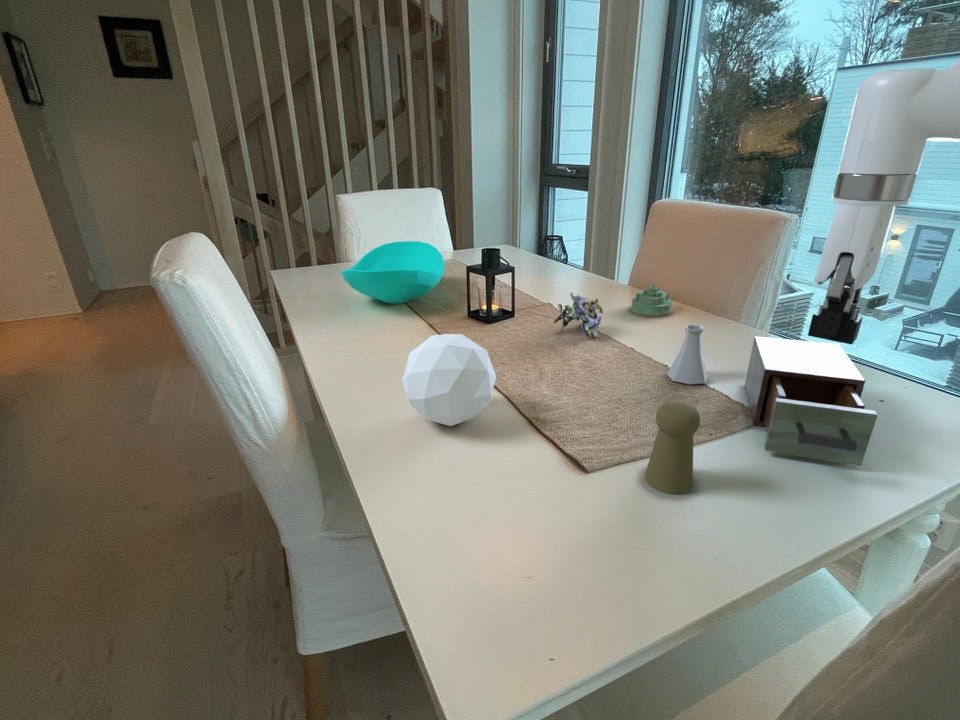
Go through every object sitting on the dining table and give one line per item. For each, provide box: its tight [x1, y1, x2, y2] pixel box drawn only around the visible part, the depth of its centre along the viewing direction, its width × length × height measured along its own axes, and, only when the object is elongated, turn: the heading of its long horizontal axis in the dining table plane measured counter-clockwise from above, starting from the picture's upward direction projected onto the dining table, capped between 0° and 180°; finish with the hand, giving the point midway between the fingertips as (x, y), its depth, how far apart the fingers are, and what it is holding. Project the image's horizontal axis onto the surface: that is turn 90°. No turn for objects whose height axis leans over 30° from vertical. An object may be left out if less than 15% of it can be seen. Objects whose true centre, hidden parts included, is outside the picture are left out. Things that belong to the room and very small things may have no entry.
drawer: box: [762, 375, 878, 467], centre depth 72 cm, size 18×11×8 cm, turn 159°
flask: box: [666, 323, 708, 385], centre depth 94 cm, size 7×7×10 cm
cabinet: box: [744, 335, 866, 428], centre depth 82 cm, size 15×13×10 cm
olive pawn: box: [644, 400, 701, 495], centre depth 65 cm, size 6×6×11 cm
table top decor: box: [340, 240, 446, 304], centre depth 145 cm, size 40×28×13 cm
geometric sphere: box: [401, 333, 497, 427], centre depth 81 cm, size 14×15×15 cm
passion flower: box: [553, 292, 604, 338], centre depth 117 cm, size 11×11×12 cm
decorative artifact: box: [630, 283, 674, 317], centre depth 132 cm, size 10×7×10 cm
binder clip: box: [807, 303, 864, 345], centre depth 67 cm, size 5×3×4 cm, turn 46°
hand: (833, 334), depth 67 cm, fingers closed on binder clip, 3 cm apart
